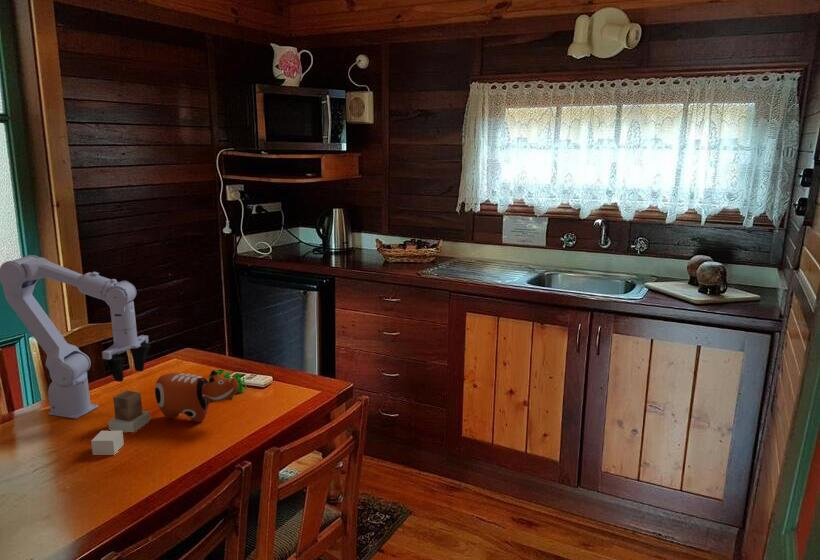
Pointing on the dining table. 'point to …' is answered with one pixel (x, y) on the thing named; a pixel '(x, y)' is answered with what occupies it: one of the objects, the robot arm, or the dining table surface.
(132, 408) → the walnut block
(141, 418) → the sage slab
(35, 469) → the dining table surface
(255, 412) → the dining table surface
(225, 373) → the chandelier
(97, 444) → the cream block
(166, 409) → the toy
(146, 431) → the dining table surface
